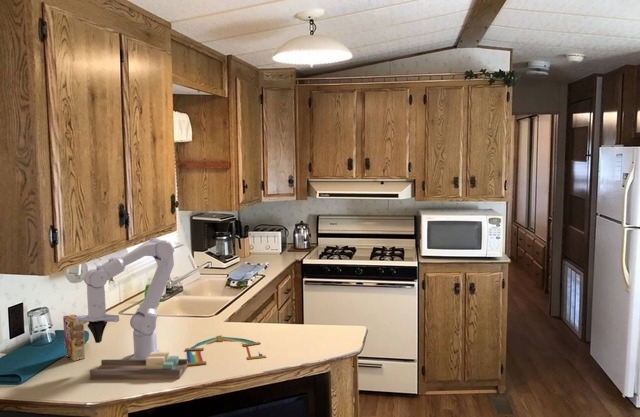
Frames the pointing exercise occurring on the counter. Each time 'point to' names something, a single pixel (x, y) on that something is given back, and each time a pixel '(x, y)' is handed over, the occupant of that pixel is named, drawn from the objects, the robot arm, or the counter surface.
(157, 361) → the beige box
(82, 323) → the candy box
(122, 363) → the guide track
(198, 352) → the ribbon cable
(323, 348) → the counter surface
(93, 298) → the robot arm
